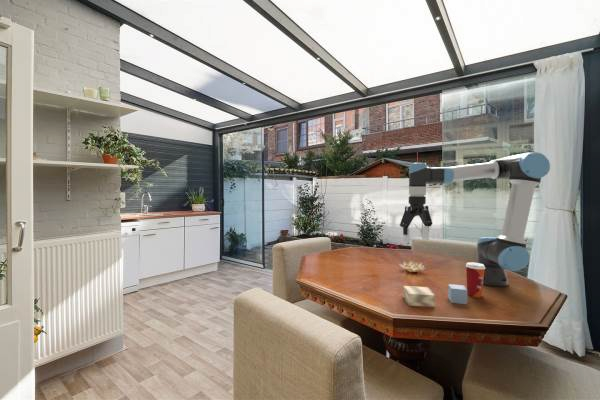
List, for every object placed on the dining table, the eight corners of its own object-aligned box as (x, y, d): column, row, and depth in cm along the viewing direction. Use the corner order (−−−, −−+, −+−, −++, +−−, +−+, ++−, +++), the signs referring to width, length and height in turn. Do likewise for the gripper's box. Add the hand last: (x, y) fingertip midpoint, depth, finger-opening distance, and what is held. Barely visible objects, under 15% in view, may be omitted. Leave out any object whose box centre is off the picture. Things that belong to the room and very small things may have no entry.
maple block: (427, 298, 129) (427, 287, 128) (434, 307, 119) (434, 295, 118) (403, 297, 130) (403, 285, 130) (408, 306, 120) (408, 293, 120)
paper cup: (484, 299, 127) (485, 267, 127) (464, 295, 131) (465, 264, 131) (484, 294, 134) (485, 263, 133) (465, 290, 138) (466, 261, 137)
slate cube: (463, 299, 128) (463, 285, 127) (466, 304, 122) (467, 290, 122) (448, 297, 129) (448, 284, 129) (450, 302, 123) (451, 288, 123)
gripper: (427, 195, 149) (426, 237, 150) (392, 195, 137) (391, 241, 138) (440, 195, 143) (439, 239, 144) (405, 196, 130) (404, 244, 131)
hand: (416, 240), depth 141 cm, fingers open, 13 cm apart
